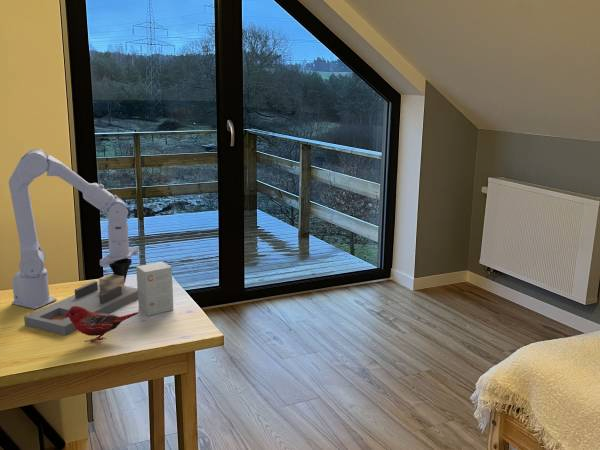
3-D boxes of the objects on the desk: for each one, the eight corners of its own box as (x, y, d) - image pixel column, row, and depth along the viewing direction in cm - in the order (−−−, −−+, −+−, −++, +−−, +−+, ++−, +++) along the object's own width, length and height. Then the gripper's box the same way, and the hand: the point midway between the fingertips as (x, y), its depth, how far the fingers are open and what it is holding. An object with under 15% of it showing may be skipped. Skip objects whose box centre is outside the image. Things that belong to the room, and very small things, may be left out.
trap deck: (24, 325, 154) (23, 307, 153) (104, 289, 181) (103, 274, 180) (65, 335, 149) (63, 317, 148) (141, 297, 175) (140, 281, 174)
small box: (164, 303, 171) (162, 260, 168) (174, 310, 166) (172, 266, 163) (137, 309, 166) (135, 265, 163) (146, 316, 161) (144, 271, 158)
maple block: (99, 291, 172) (99, 278, 171) (111, 286, 177) (110, 273, 176) (113, 294, 170) (112, 281, 169) (124, 288, 175) (124, 276, 174)
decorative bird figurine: (66, 343, 144) (63, 305, 142) (139, 332, 151) (137, 296, 149) (66, 348, 142) (63, 309, 139) (141, 336, 149) (139, 300, 146)
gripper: (112, 247, 166) (115, 292, 169) (145, 235, 178) (147, 277, 182) (93, 244, 168) (96, 288, 172) (126, 232, 181) (128, 274, 185)
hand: (121, 282), depth 177 cm, fingers closed
